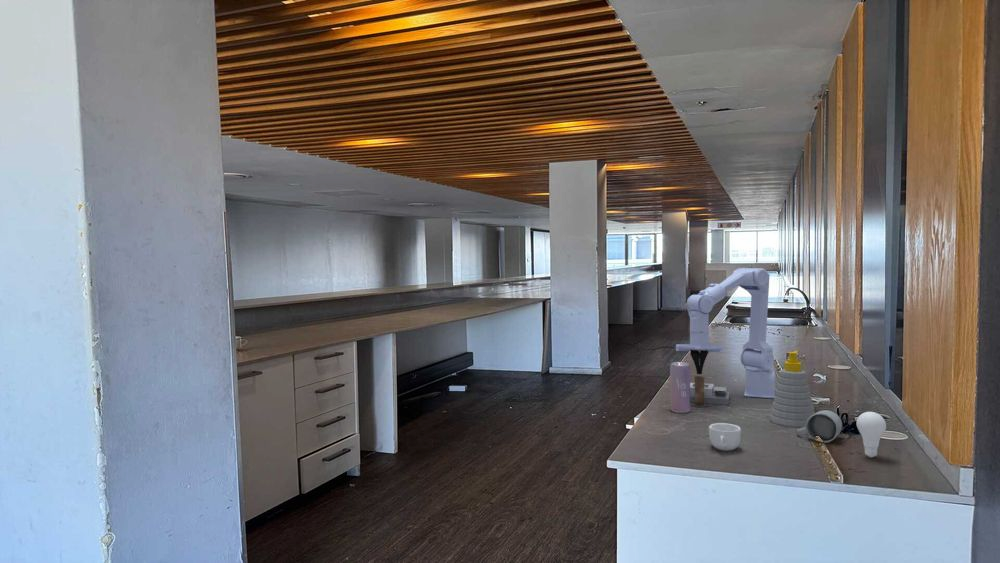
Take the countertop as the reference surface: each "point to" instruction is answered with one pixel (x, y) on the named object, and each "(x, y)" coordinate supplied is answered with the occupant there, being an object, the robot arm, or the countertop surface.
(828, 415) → the ceramic mug
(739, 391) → the countertop surface
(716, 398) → the grey fixture with socket
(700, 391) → the dowel
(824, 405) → the countertop surface
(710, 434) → the teacup
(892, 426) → the countertop surface
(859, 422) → the lightbulb
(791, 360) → the soap bottle
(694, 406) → the coaster
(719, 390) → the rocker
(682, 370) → the beverage can
